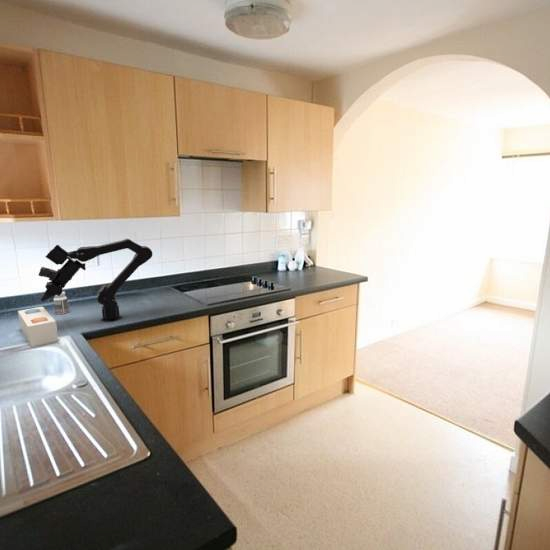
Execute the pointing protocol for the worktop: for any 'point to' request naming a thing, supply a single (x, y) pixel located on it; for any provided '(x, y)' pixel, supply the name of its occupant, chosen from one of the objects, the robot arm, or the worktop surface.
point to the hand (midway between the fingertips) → (41, 300)
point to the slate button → (32, 311)
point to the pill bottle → (61, 304)
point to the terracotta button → (39, 319)
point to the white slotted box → (38, 327)
